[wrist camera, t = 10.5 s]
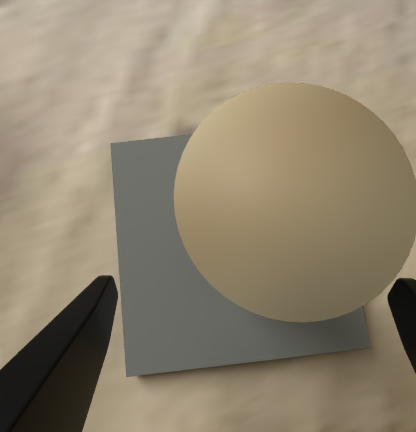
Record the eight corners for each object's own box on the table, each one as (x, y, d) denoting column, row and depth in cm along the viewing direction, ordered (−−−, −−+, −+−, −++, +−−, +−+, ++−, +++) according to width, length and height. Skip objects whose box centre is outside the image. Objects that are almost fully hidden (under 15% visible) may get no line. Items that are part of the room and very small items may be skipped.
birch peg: (280, 245, 17) (471, 214, 5) (228, 287, 17) (282, 379, 4) (237, 194, 17) (306, 40, 5) (187, 234, 17) (125, 176, 5)
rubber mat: (361, 342, 17) (370, 348, 16) (131, 369, 17) (126, 377, 16) (321, 126, 19) (327, 119, 18) (115, 149, 19) (110, 143, 18)
